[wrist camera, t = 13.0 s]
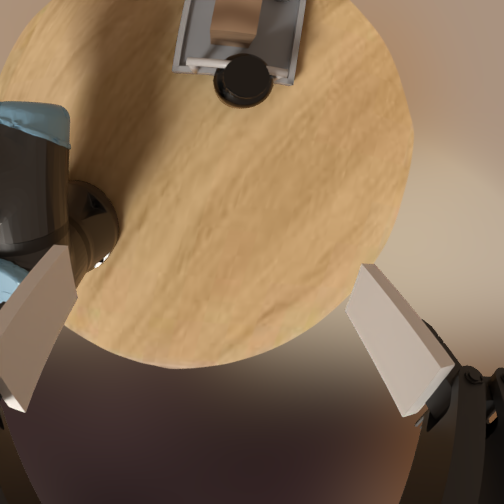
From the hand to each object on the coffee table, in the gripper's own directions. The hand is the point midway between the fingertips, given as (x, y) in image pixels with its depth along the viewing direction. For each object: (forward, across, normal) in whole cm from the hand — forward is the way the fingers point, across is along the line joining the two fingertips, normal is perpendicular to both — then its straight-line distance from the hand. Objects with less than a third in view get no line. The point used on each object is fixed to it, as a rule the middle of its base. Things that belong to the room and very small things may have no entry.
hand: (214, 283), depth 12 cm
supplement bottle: (+32, +2, +11) cm, 34 cm away
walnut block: (+30, 0, +19) cm, 36 cm away
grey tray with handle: (+33, +1, +21) cm, 39 cm away
